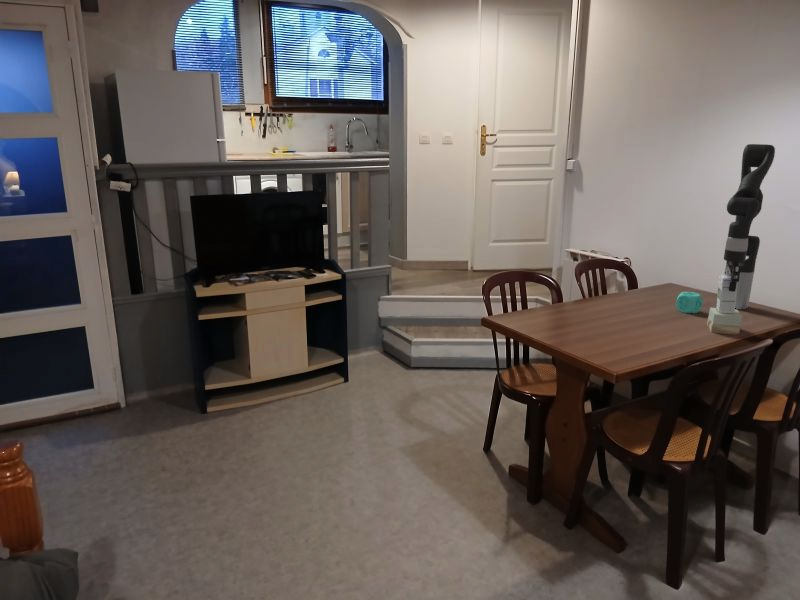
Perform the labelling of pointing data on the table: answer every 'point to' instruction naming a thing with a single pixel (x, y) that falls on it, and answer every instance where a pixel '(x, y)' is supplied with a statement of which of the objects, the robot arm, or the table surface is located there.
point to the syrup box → (725, 296)
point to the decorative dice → (689, 302)
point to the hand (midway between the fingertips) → (729, 288)
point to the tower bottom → (723, 328)
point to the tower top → (725, 317)
